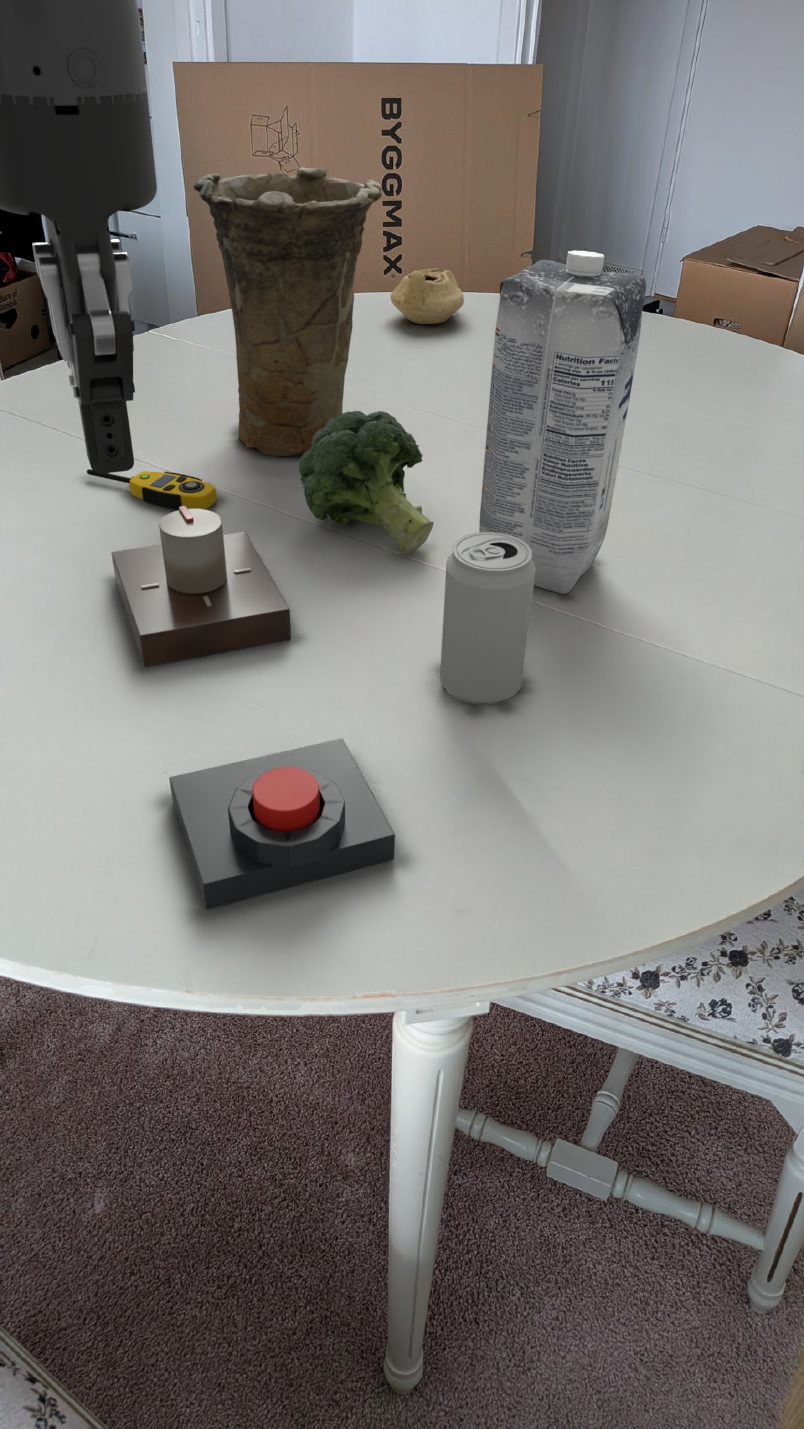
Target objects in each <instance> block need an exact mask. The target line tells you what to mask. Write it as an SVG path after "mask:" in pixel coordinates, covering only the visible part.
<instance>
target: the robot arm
mask: <svg viewBox="0 0 804 1429" xmlns="http://www.w3.org/2000/svg"><path fill="white" fill-rule="evenodd" d="M144 56H145V55H144V46H143V34H142V24H141V19H140V10H139V6H138V0H0V210H2V211H6V212H9V213H13V214H17V215H24V216H32V215H41V216H44V221H45V227H46V228H45V229H46V233H47V239H48V241H45V242H44V241H41V242H32V251H33V257H34V262H35V268H36V273H37V276H38V278H39V280H40V283H41V288H42V290H43V293H44V296H45V298H46V299H47V305H48V310H49V316H50V322H51V327H52V328H51V329H52V332H53V335H54V338H55V341H56V345H57V346H58V351H59V354H60V357H61V358H62V359H63V361H64V362H66V363H67V367H68V369H69V370H70V371H69V372H70V374H69V375H68V380H69V385H70V387H72V393H73V398H74V399H76V398H77V399H76V400H77V403H78V408H79V413H80V420H81V425H82V431H83V438H84V444H85V451H86V456H87V459H88V463H89V465H90V469H91V470H93V471H94V472H96V473H98V474H104V473H109V474H114V473H120V472H122V473H123V472H127V471H130V470H131V469H133V467H134V465H135V457H134V450H133V442H132V435H131V428H130V427H131V426H130V420H129V412H128V404H127V402H130V401H131V402H132V401H134V394H135V393H136V387H135V383H134V351H135V344H134V343H135V342H134V332H136V326H135V320H134V318H132V317H131V310H130V300H129V299H130V297H131V295H132V293H133V291H134V288H133V278H132V270H131V269H132V268H131V263H130V258H129V254H128V252H127V251H122V246H121V242H120V239H119V238H112V237H111V232H110V229H109V220H110V217H112V216H113V215H114V214H116V213H118V212H126V213H128V212H129V213H130V212H134V211H137V210H139V209H142V208H144V207H146V206H148V205H149V204H150V203H151V202H153V200H154V199H155V197H156V195H157V192H158V186H157V185H158V184H157V174H156V162H155V155H154V145H153V134H152V126H151V124H152V123H151V115H150V106H149V94H148V85H147V76H146V66H145V57H144Z"/></svg>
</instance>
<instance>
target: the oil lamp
mask: <svg viewBox="0 0 804 1429" xmlns="http://www.w3.org/2000/svg"><path fill="white" fill-rule="evenodd" d="M390 301H391V303H392V305H393V306H394V307H395V309H397V310H398V311H399V312H400V313H401V315H403V316H404V317H405V318H406V319H407V320H409V321H410V322H412V323H414V324H420V325H434V324H441V323H444V322H446V321H448V319H449V318H450V317H451V316H453V314H455V313H456V312H458V311H459V310H460V309H461V308H462V307H463V305H464V302H465V298H464V293H463V291H462V289H460V287H459V286H458V283H457V281H456V278H455V276H454V274H453V272H452V271H451V270H450V269H447V270H446V269H443V268H437V267H434V268H425V269H421V270H414V271H412V272H411V273H409V274H407V275H405V276H404V277H403V278H402V279H401V281H400V282H399V284H398V285H397V286H396V287H395V288H394V290H392V292H391V293H390Z"/></svg>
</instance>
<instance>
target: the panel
mask: <svg viewBox="0 0 804 1429" xmlns="http://www.w3.org/2000/svg"><path fill="white" fill-rule="evenodd" d="M223 537H224V548H225V559H226V570H227V579H226V581H225V583H224V584H223V585H222V586H221V587H219V588H217V589H215V590H213V591H210V592H206V593H199V594H188V593H182V592H178V591H176V590H174V589H172V588H171V587H170V586H169V585H168V584H167V581H166V574H165V566H164V559H163V551H162V544H161V543H160V544H155V545H149V546H142V547H135V548H129V549H128V548H127V549H122V550H115V551H111V559H112V565H113V571H114V578H115V582H116V585H117V588H118V591H119V594H120V597H121V601H122V604H123V607H124V609H125V612H126V616H127V619H128V622H129V624H130V625H129V626H130V627H131V631H132V633H133V637H134V640H135V643H136V645H137V646H136V647H137V649H138V651H139V655H140V658H141V661H142V664H143V667H144V668H148V667H153V666H158V665H163V664H168V663H169V664H170V663H174V662H179V661H185V660H190V659H195V658H196V659H197V658H201V657H206V656H210V655H211V656H212V655H217V654H223V653H228V652H232V651H237V650H242V649H247V648H253V647H259V646H263V645H264V646H265V645H269V644H274V643H280V642H285V641H290V640H292V639H291V638H292V629H291V609H290V607H289V606H288V604H287V602H286V600H285V598H284V597H283V594H282V593H281V592H280V590H279V588H278V586H277V584H276V582H275V581H274V579H273V577H272V576H271V574H270V572H269V571H268V569H267V567H266V565H265V563H264V562H263V560H262V558H261V556H260V555H259V552H258V551H257V549H256V547H255V545H254V544H253V542H252V541H251V539H250V537H249V535H248V534H247V531H240V532H233V533H226V534H223Z"/></svg>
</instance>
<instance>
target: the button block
mask: <svg viewBox="0 0 804 1429" xmlns="http://www.w3.org/2000/svg"><path fill="white" fill-rule="evenodd" d="M280 767H295V768H299V769H303V770H305V771H307V772H309V773H310V774H312V775H313V776H314V777H315V778H316V780H317V782H318V784H319V802H320V810H319V814H318V816H317V817H316V819H315V820H314V821H313V822H312V823H311V824H310V825H308V826H307V827H305V828H302V829H298V830H294V831H290V832H282V831H274V830H270V829H268V828H266V827H264V826H263V825H261V824H260V823H259V822H258V820H257V819H256V817H255V814H254V806H253V794H252V789H253V785H254V783H255V781H256V780H257V779H258V778H259V777H260V776H261V775H262V774H264V773H265V772H267V771H269V770H272V769H276V768H280ZM168 780H169V787H170V792H171V800H172V805H173V807H174V810H175V813H176V817H177V820H178V824H179V826H180V830H181V833H182V835H183V839H184V843H185V846H186V850H187V852H188V855H189V858H190V861H191V865H192V868H193V871H194V874H195V878H196V881H197V885H198V887H199V890H200V894H201V896H202V900H203V903H204V906H205V909H206V910H211V909H214V908H215V909H216V908H219V907H221V906H226V905H229V904H233V903H237V902H240V901H243V900H248V899H253V898H256V897H259V896H263V895H267V894H270V893H274V892H278V891H283V890H285V889H289V888H293V887H297V886H299V885H303V884H307V883H308V884H309V883H311V882H315V881H319V880H323V879H326V878H330V877H334V876H338V875H341V874H345V873H349V872H353V871H355V870H359V869H364V868H367V867H371V866H374V865H378V864H382V863H386V862H389V861H393V860H395V846H396V834H395V832H394V830H393V828H392V827H391V824H390V823H389V821H388V819H387V817H386V815H385V814H384V812H383V809H382V808H381V807H380V805H379V802H378V801H377V799H376V797H375V795H374V793H373V791H372V790H371V788H370V786H369V784H368V782H367V781H366V779H365V776H364V775H363V773H362V771H361V770H360V767H359V766H358V764H357V762H356V760H355V758H354V757H353V755H352V753H351V750H350V749H349V747H348V745H347V744H346V742H345V740H344V738H338V739H334V740H328V741H325V742H320V743H316V744H311V745H307V746H303V747H298V748H294V749H289V750H285V751H279V752H275V753H271V754H267V755H263V756H258V757H254V758H249V759H245V760H240V761H236V762H232V763H231V762H230V763H226V764H222V765H219V766H214V767H209V768H204V769H201V770H195V771H192V772H187V773H182V774H179V775H173V776H170V777H168Z"/></svg>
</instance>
